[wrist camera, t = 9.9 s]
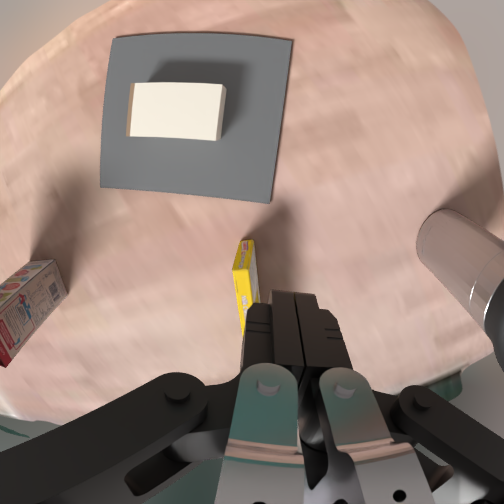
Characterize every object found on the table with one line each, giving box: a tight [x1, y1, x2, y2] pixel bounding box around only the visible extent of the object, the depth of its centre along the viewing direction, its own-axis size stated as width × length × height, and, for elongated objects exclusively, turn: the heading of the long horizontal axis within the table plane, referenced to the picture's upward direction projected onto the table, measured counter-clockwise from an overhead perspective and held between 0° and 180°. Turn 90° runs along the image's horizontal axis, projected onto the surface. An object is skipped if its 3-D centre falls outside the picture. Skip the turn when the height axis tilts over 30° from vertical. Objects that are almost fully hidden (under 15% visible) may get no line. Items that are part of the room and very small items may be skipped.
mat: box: [100, 33, 292, 204], centre depth 32 cm, size 22×20×1 cm
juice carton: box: [0, 259, 68, 368], centre depth 32 cm, size 7×7×22 cm
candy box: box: [232, 240, 260, 335], centre depth 38 cm, size 16×2×8 cm, turn 6°
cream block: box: [126, 82, 227, 141], centre depth 30 cm, size 4×6×10 cm
